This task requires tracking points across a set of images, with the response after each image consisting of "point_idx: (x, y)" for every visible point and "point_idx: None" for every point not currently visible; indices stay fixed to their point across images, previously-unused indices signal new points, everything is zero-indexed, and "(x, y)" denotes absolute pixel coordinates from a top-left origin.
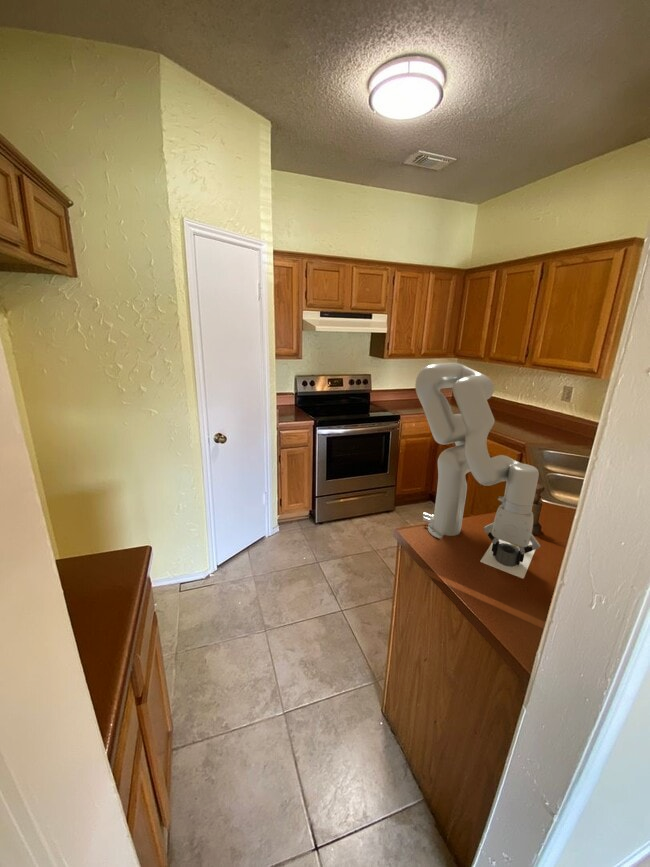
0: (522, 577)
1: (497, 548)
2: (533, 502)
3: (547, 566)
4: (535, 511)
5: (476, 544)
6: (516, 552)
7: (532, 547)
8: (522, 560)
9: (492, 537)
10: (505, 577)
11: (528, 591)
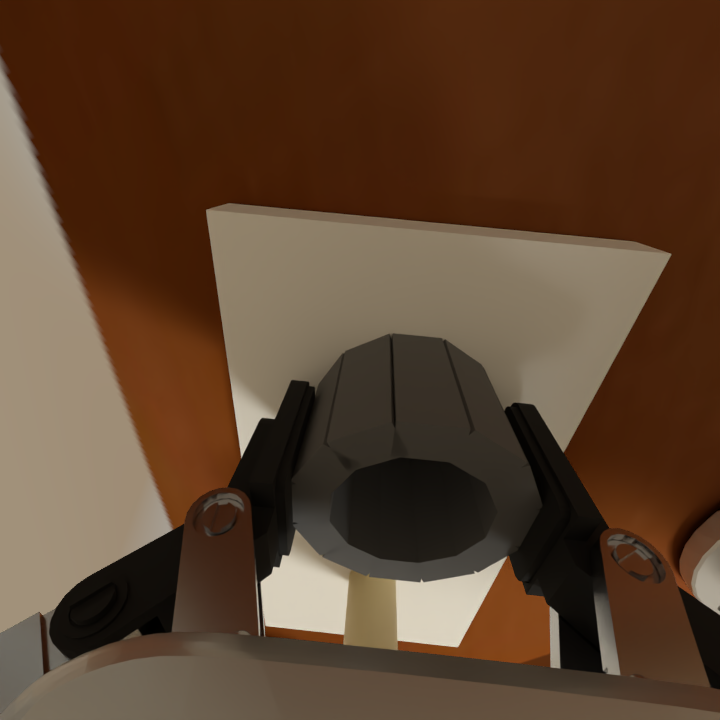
0: (221, 227)
1: (532, 481)
2: None
3: (177, 489)
4: None
5: (604, 501)
6: (316, 499)
7: (33, 663)
8: (255, 430)
9: (700, 644)
10: (378, 199)
11: (140, 85)
